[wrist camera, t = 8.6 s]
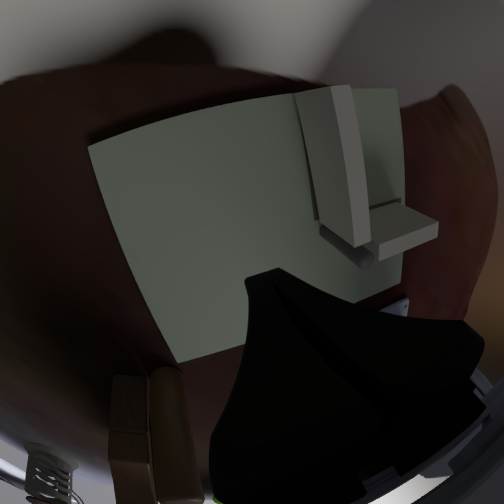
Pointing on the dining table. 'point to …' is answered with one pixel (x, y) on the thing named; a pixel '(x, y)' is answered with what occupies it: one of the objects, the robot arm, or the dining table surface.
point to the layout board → (237, 211)
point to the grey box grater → (51, 466)
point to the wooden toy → (152, 441)
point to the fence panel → (336, 161)
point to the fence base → (386, 234)
